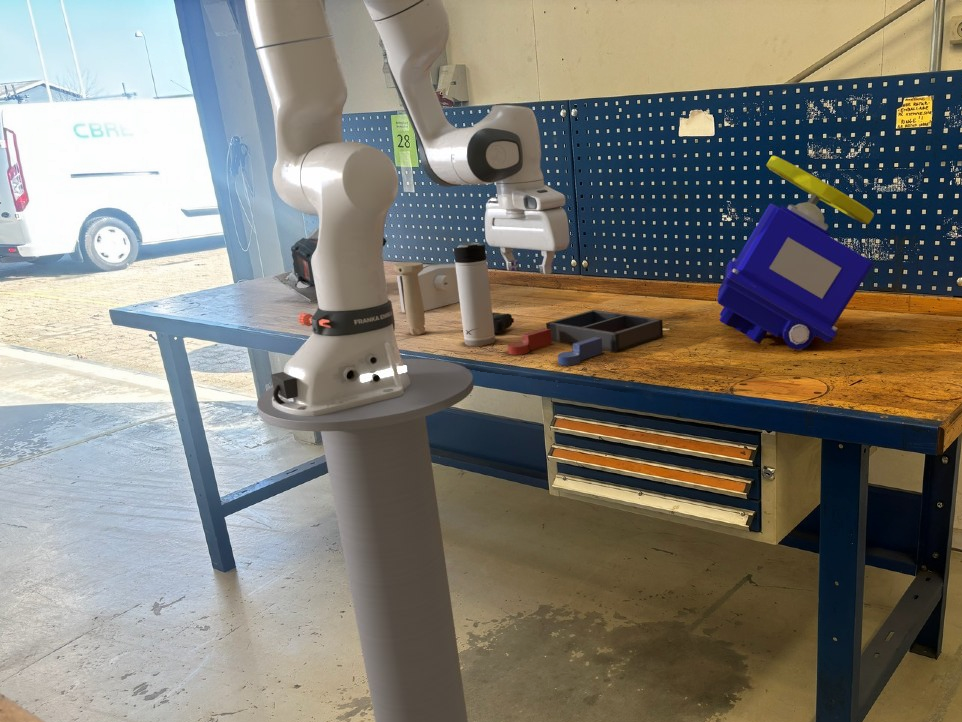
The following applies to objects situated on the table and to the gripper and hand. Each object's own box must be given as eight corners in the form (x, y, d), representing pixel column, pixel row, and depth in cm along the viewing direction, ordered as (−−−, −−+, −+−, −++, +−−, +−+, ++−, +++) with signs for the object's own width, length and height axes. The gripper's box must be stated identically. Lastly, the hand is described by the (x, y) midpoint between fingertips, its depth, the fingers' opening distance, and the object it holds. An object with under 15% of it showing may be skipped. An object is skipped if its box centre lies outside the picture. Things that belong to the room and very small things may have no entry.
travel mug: (469, 348, 170) (457, 247, 163) (461, 341, 176) (449, 243, 169) (499, 343, 172) (488, 243, 165) (490, 337, 178) (480, 240, 171)
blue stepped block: (591, 351, 163) (590, 336, 162) (607, 354, 160) (606, 338, 159) (554, 363, 156) (552, 347, 155) (569, 366, 153) (568, 350, 152)
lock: (422, 315, 204) (417, 273, 200) (397, 311, 209) (391, 271, 205) (477, 300, 217) (473, 260, 214) (452, 297, 223) (447, 258, 219)
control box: (687, 306, 154) (776, 152, 144) (693, 287, 179) (769, 155, 169) (809, 376, 155) (907, 228, 145) (798, 348, 180) (880, 220, 170)
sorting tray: (616, 352, 161) (615, 334, 160) (547, 339, 173) (545, 322, 172) (663, 336, 170) (662, 319, 169) (594, 325, 183) (593, 309, 181)
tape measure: (502, 336, 178) (500, 319, 177) (472, 336, 180) (470, 318, 179) (515, 329, 184) (513, 312, 183) (486, 328, 186) (484, 311, 185)
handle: (420, 337, 182) (410, 266, 176) (399, 334, 185) (389, 265, 180) (436, 332, 185) (427, 263, 180) (415, 329, 189) (406, 261, 184)
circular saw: (252, 292, 225) (274, 207, 213) (340, 269, 256) (363, 193, 243) (313, 333, 222) (338, 249, 210) (393, 305, 253) (420, 230, 240)
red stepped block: (541, 342, 172) (540, 327, 171) (555, 344, 169) (554, 329, 168) (504, 353, 165) (502, 338, 164) (517, 356, 163) (516, 340, 161)
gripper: (473, 198, 163) (482, 271, 168) (546, 200, 149) (553, 279, 154) (498, 194, 167) (506, 265, 172) (571, 196, 153) (577, 272, 158)
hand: (529, 272), depth 163 cm, fingers open, 8 cm apart
